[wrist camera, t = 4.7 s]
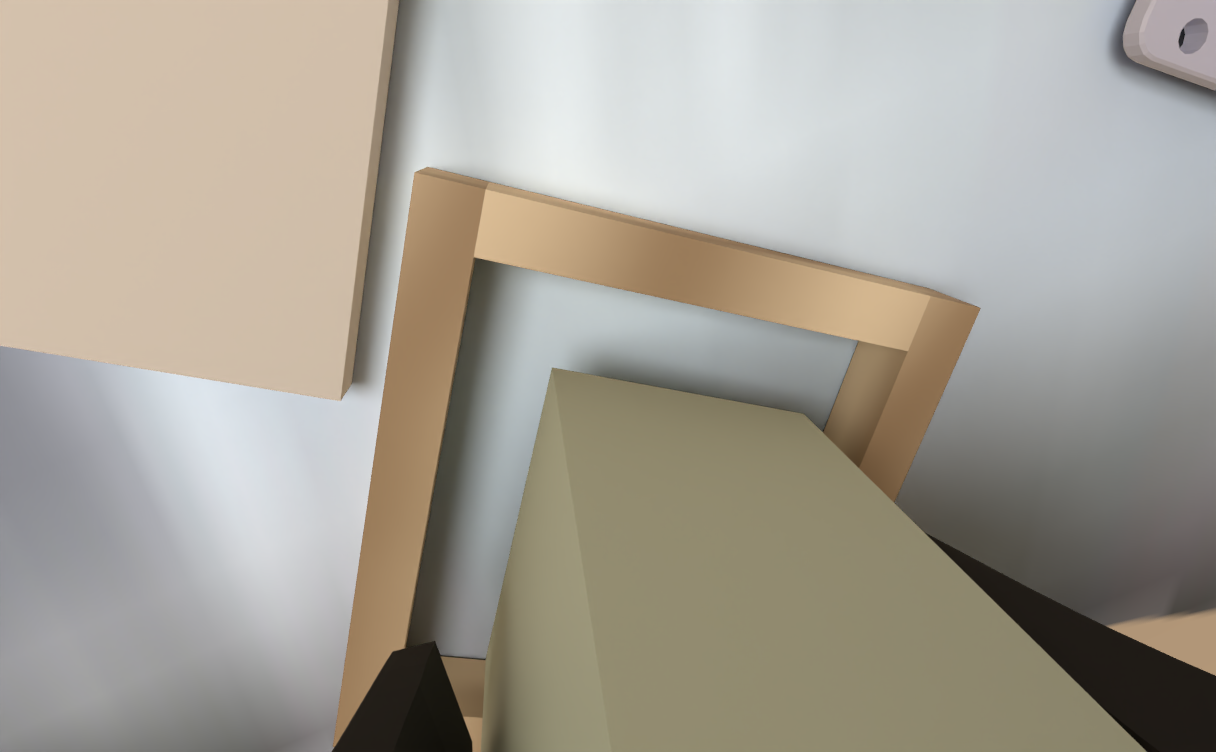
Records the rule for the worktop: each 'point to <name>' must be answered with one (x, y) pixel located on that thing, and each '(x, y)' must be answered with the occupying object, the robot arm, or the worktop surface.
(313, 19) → the beige mat
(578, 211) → the wooden square frame
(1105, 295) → the worktop surface
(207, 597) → the worktop surface
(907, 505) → the worktop surface
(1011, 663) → the green block
